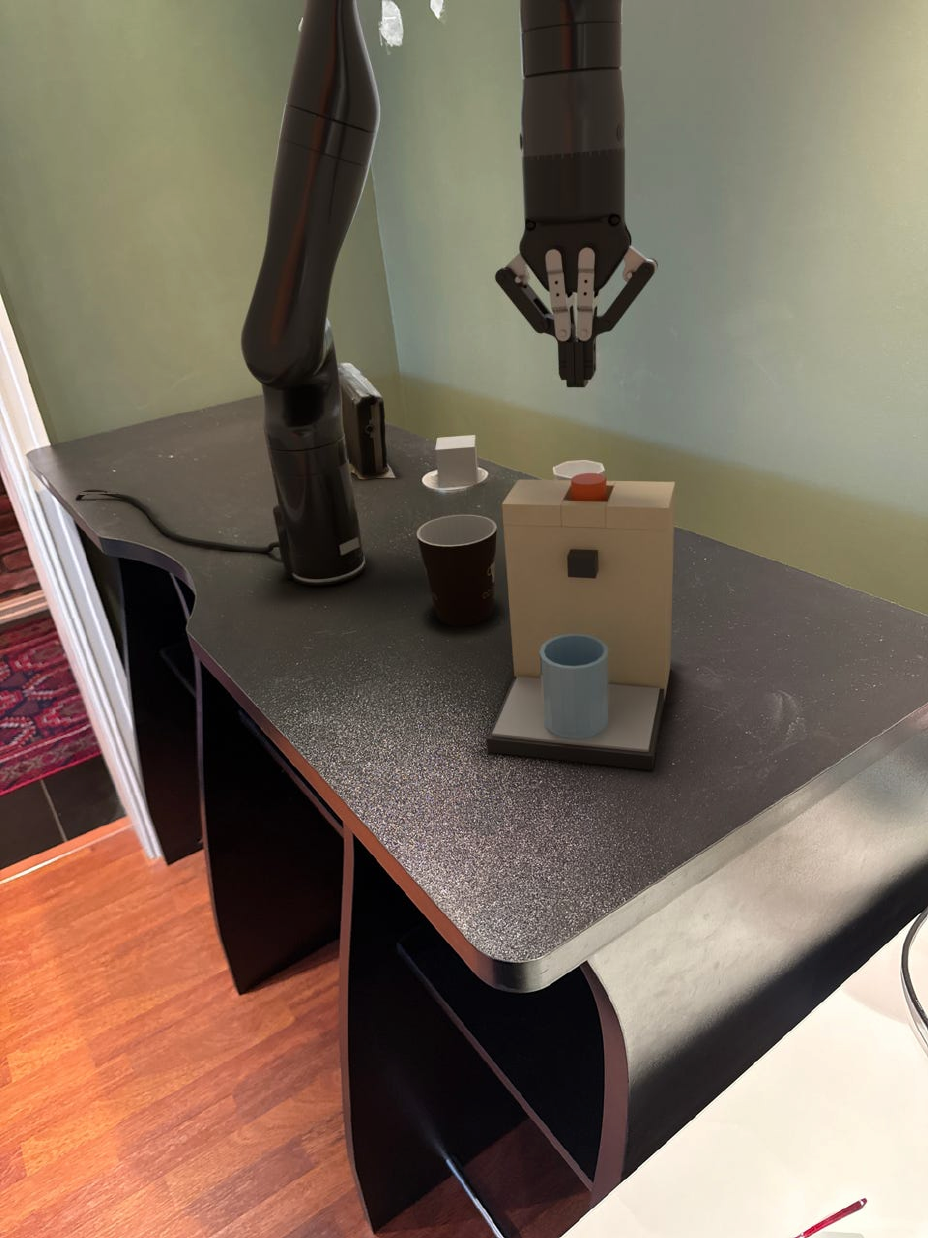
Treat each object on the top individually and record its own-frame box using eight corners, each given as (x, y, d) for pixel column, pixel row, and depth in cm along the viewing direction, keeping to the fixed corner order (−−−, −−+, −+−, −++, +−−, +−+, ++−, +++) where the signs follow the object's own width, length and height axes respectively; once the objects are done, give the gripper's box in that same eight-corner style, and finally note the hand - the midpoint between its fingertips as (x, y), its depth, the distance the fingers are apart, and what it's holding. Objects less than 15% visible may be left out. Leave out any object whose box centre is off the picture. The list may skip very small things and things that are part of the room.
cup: (616, 528, 116) (616, 470, 112) (548, 546, 113) (545, 486, 109) (590, 512, 122) (589, 455, 118) (524, 527, 119) (521, 470, 115)
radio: (395, 477, 142) (383, 384, 135) (342, 486, 141) (326, 392, 134) (377, 438, 162) (366, 355, 155) (330, 445, 161) (317, 362, 154)
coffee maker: (487, 752, 76) (468, 552, 67) (529, 657, 90) (518, 479, 81) (652, 770, 72) (655, 560, 63) (670, 668, 86) (675, 481, 76)
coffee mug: (477, 636, 94) (469, 551, 89) (411, 621, 98) (400, 539, 94) (529, 590, 103) (524, 510, 98) (466, 578, 107) (458, 501, 102)
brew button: (568, 508, 76) (567, 484, 75) (575, 496, 78) (574, 472, 77) (603, 509, 75) (603, 484, 74) (609, 496, 77) (608, 472, 76)
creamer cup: (550, 699, 79) (547, 631, 76) (613, 704, 78) (612, 635, 75) (537, 735, 75) (533, 665, 72) (603, 742, 73) (602, 670, 70)
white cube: (441, 474, 142) (437, 437, 139) (478, 471, 141) (475, 434, 138) (438, 487, 136) (434, 449, 133) (477, 484, 136) (474, 446, 133)
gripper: (671, 137, 65) (664, 373, 74) (499, 152, 69) (511, 374, 78) (659, 140, 59) (653, 397, 68) (471, 156, 63) (487, 397, 71)
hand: (577, 384), depth 73 cm, fingers closed
